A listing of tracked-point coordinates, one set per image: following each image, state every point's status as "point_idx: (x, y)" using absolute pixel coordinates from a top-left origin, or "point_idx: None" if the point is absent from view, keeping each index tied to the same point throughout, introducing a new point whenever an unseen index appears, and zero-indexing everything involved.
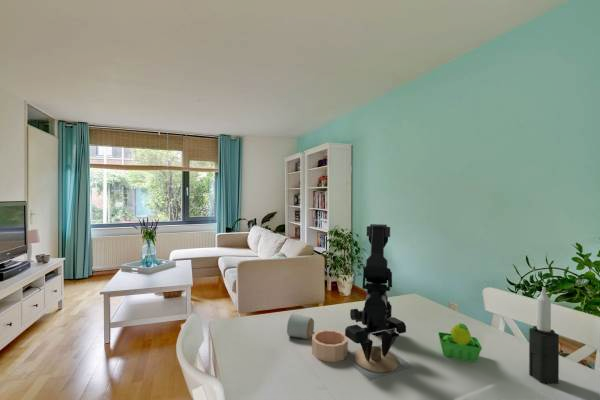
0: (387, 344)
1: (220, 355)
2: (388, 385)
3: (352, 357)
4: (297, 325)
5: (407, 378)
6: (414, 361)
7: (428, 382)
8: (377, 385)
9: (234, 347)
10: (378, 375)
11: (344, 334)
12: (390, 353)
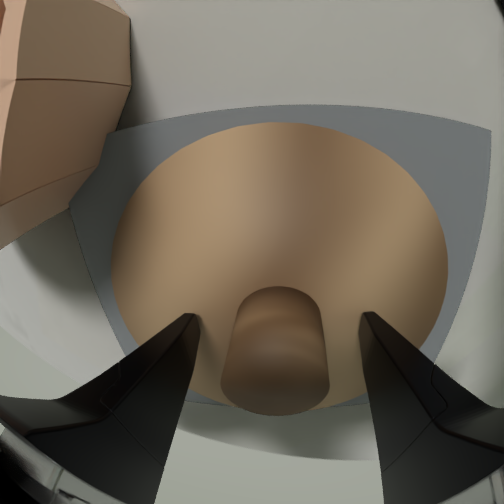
0: (382, 434)
1: None
2: (214, 421)
3: (119, 208)
4: None
5: (319, 422)
6: (467, 351)
7: (362, 438)
8: None
9: None
10: (199, 398)
11: (22, 23)
12: (436, 301)
